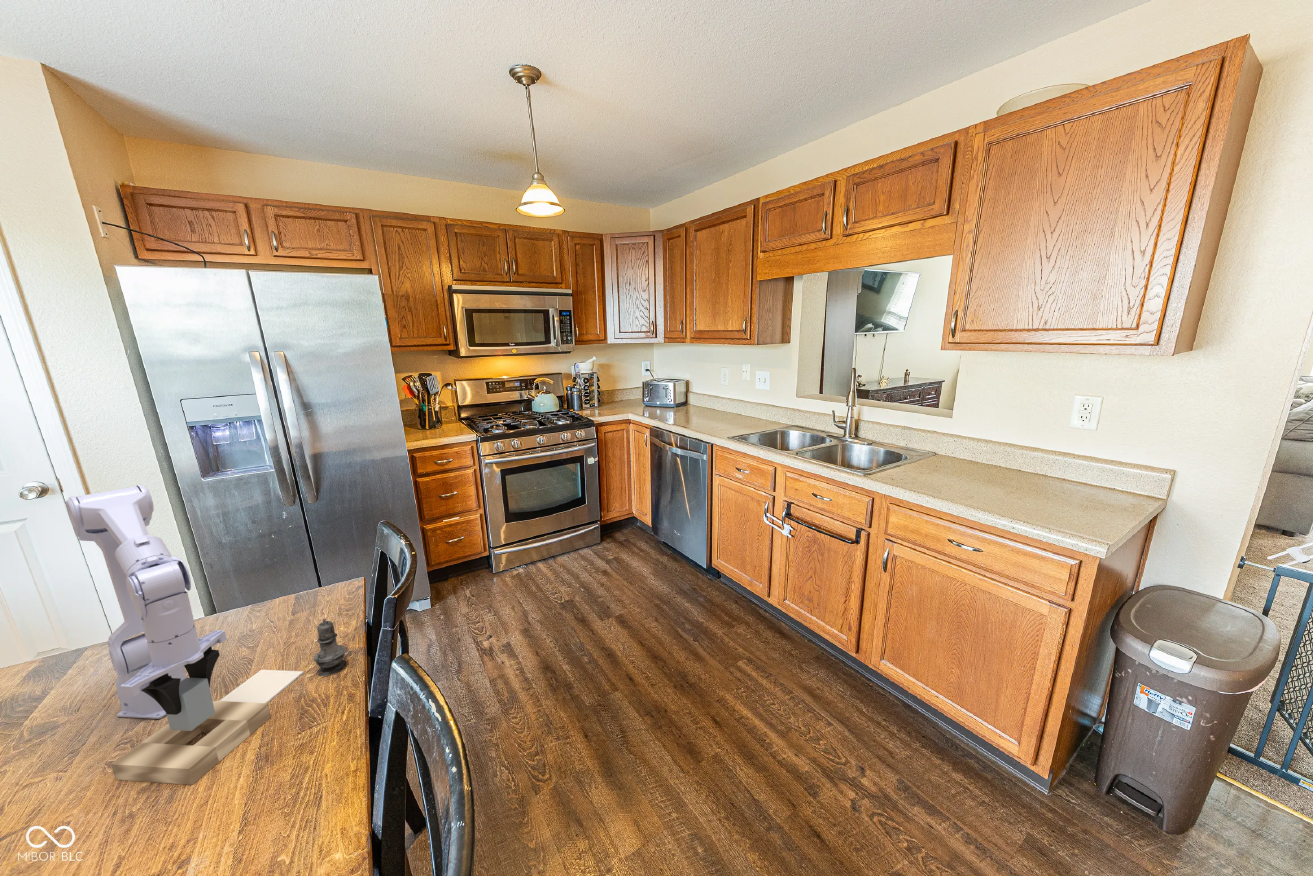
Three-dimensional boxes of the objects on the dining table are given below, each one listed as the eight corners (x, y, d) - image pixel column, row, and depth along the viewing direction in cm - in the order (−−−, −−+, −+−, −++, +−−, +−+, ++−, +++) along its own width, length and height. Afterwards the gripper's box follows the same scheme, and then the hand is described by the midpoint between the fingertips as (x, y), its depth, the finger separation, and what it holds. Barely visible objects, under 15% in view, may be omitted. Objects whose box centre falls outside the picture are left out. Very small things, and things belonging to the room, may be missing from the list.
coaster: (215, 705, 91) (214, 704, 91) (261, 671, 101) (261, 669, 101) (261, 708, 90) (261, 706, 90) (303, 673, 100) (303, 671, 100)
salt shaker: (331, 678, 98) (323, 627, 96) (309, 675, 99) (299, 625, 97) (354, 660, 104) (346, 612, 102) (333, 657, 105) (324, 609, 103)
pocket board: (115, 779, 76) (110, 764, 75) (204, 713, 89) (201, 700, 89) (192, 784, 74) (188, 769, 74) (270, 717, 88) (268, 703, 87)
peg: (170, 729, 79) (161, 694, 78) (195, 711, 83) (186, 677, 82) (191, 731, 79) (182, 695, 77) (215, 712, 83) (207, 678, 81)
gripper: (142, 662, 70) (161, 738, 73) (235, 609, 84) (249, 674, 87) (100, 660, 71) (122, 736, 73) (200, 608, 85) (215, 673, 88)
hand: (188, 702), depth 80 cm, fingers closed on peg, 4 cm apart
